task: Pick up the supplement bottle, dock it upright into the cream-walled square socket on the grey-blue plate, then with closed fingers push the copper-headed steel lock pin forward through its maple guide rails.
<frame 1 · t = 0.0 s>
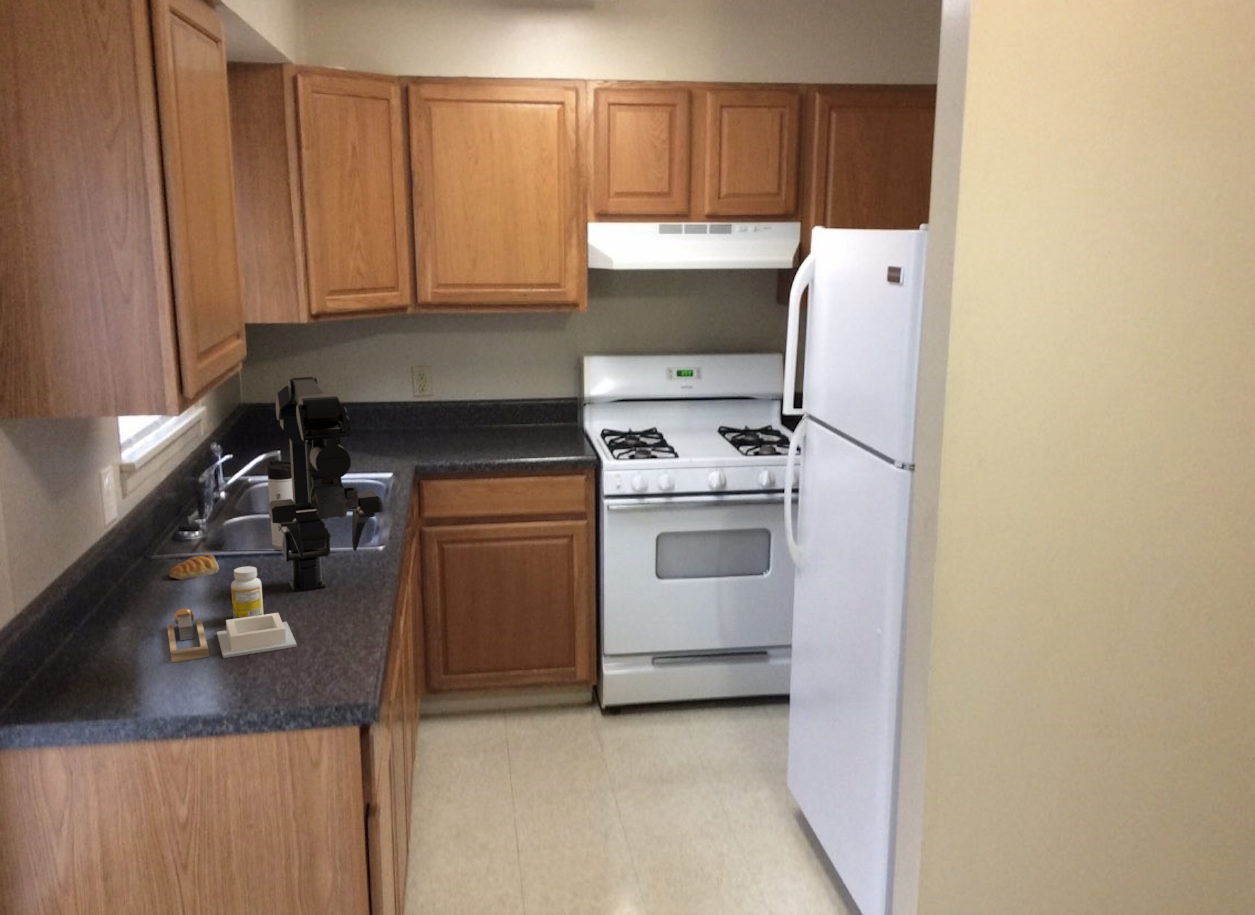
hand: (328, 553, 183), 15 cm above the counter, fingers open, 9 cm apart
travel mug: (286, 548, 237), on the counter
pastry: (197, 575, 218), on the counter
supplement bottle: (248, 619, 192), on the counter
socket: (256, 640, 181), on the counter
mount: (185, 633, 185), on the counter
lock pin: (185, 623, 185), point 2 cm above the counter, slide at 0.0 cm
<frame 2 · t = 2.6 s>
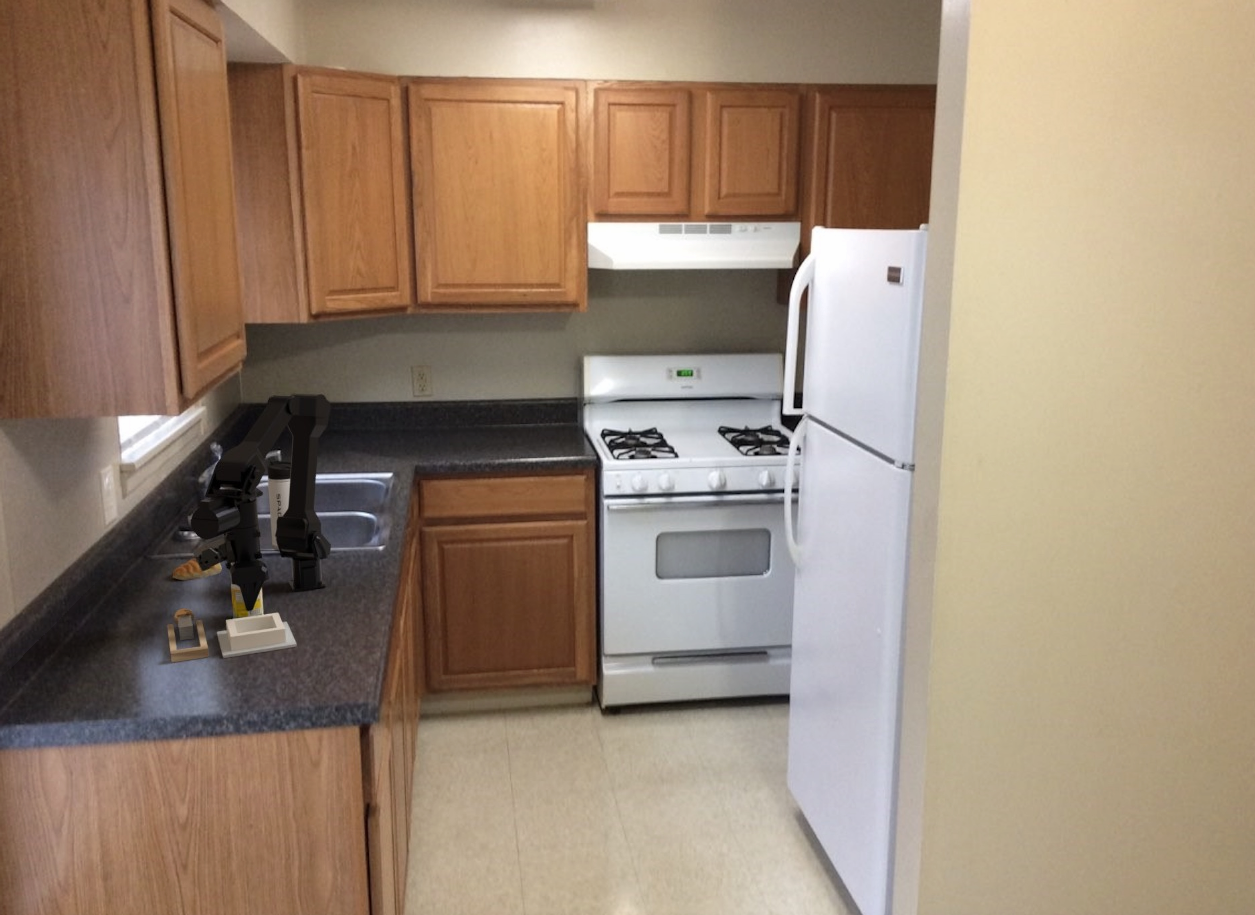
hand: (247, 605, 191), 3 cm above the counter, fingers closed on supplement bottle, 5 cm apart
supplement bottle: (248, 619, 192), on the counter, touching gripper
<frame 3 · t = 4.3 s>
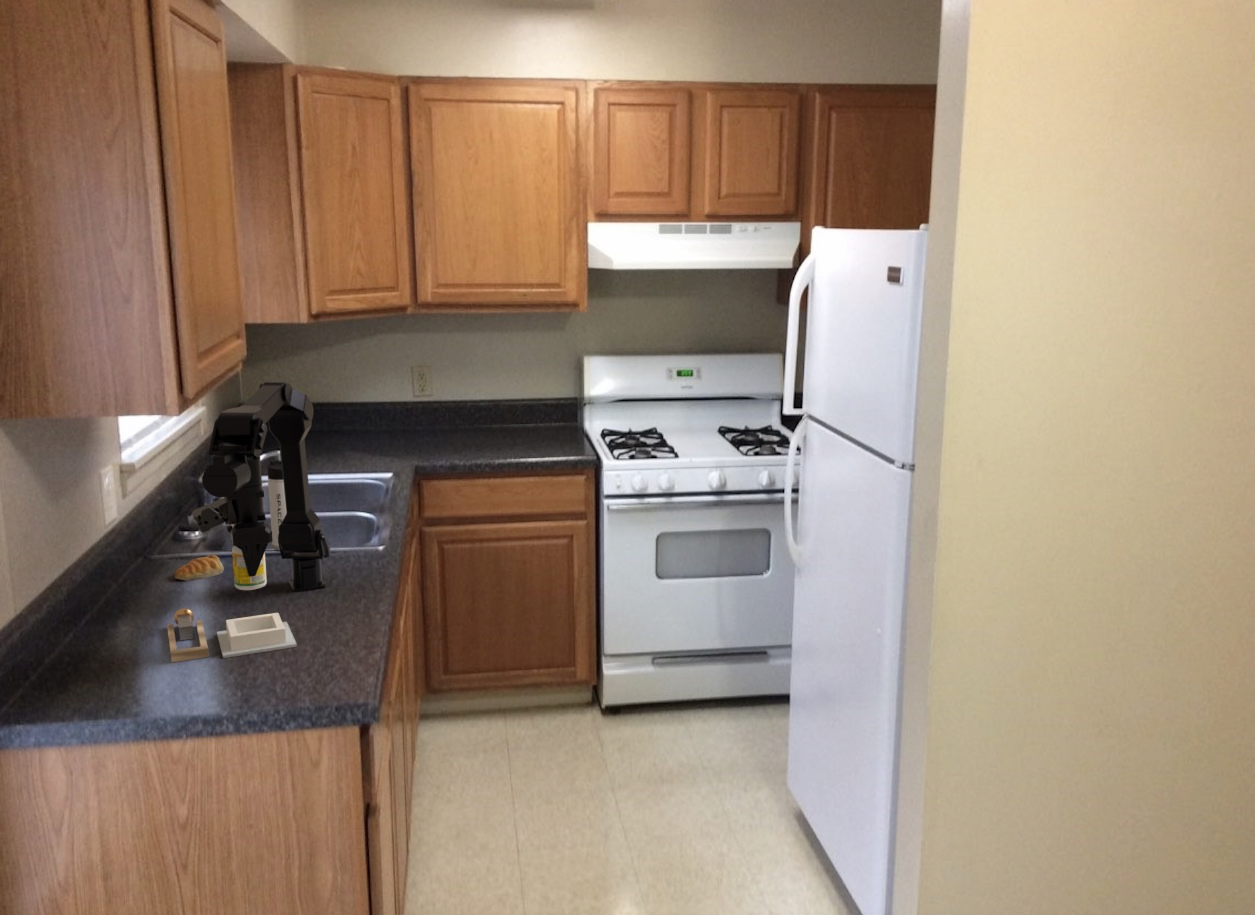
hand: (250, 571, 179), 13 cm above the counter, fingers closed on supplement bottle, 5 cm apart
supplement bottle: (250, 586, 179), point 10 cm above the counter, touching gripper
when the fingers open (4 cm above the counter, at t = 6.3 s): supplement bottle stays where it is, resting on socket.
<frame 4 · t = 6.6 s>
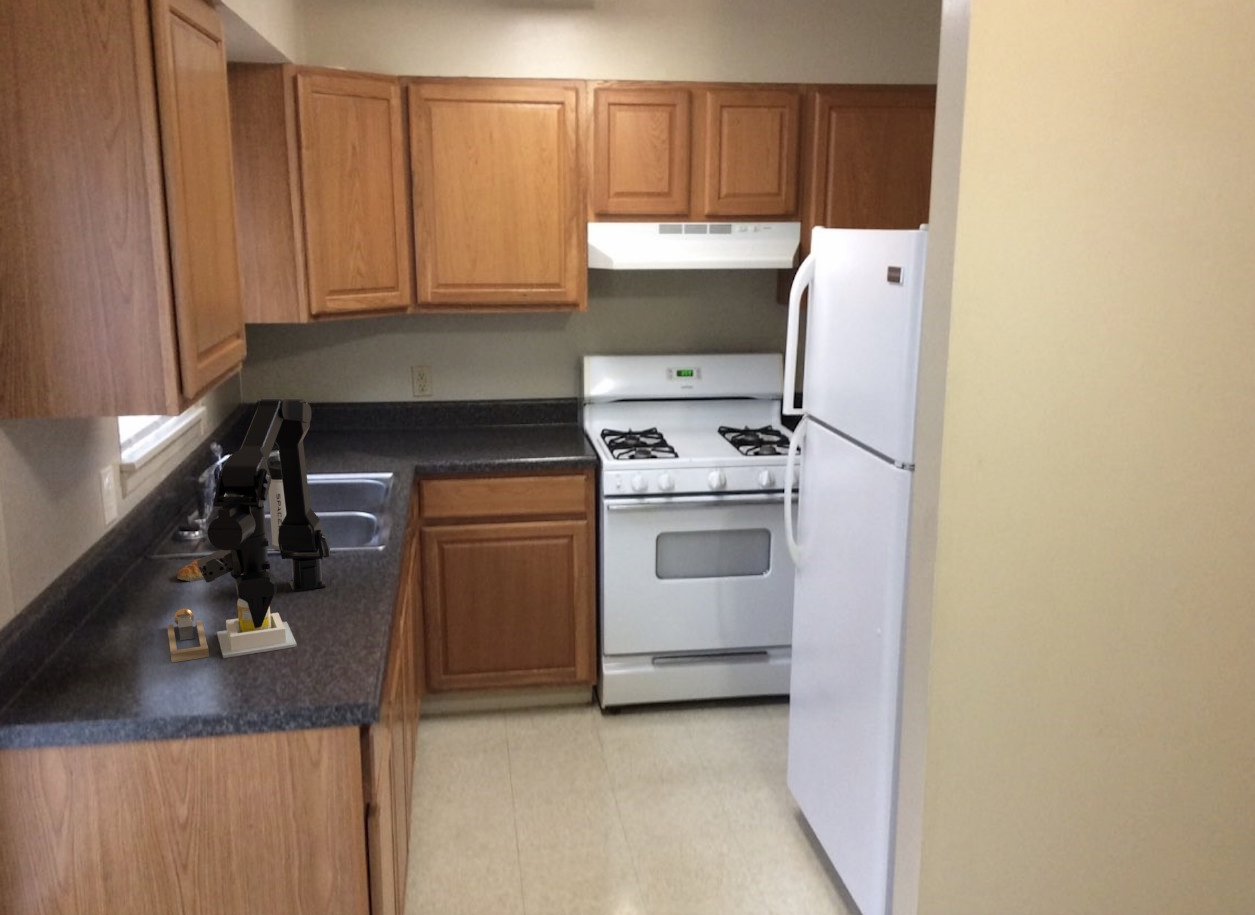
hand: (254, 618, 181), 4 cm above the counter, fingers open, 9 cm apart
supplement bottle: (256, 638, 181), resting on socket
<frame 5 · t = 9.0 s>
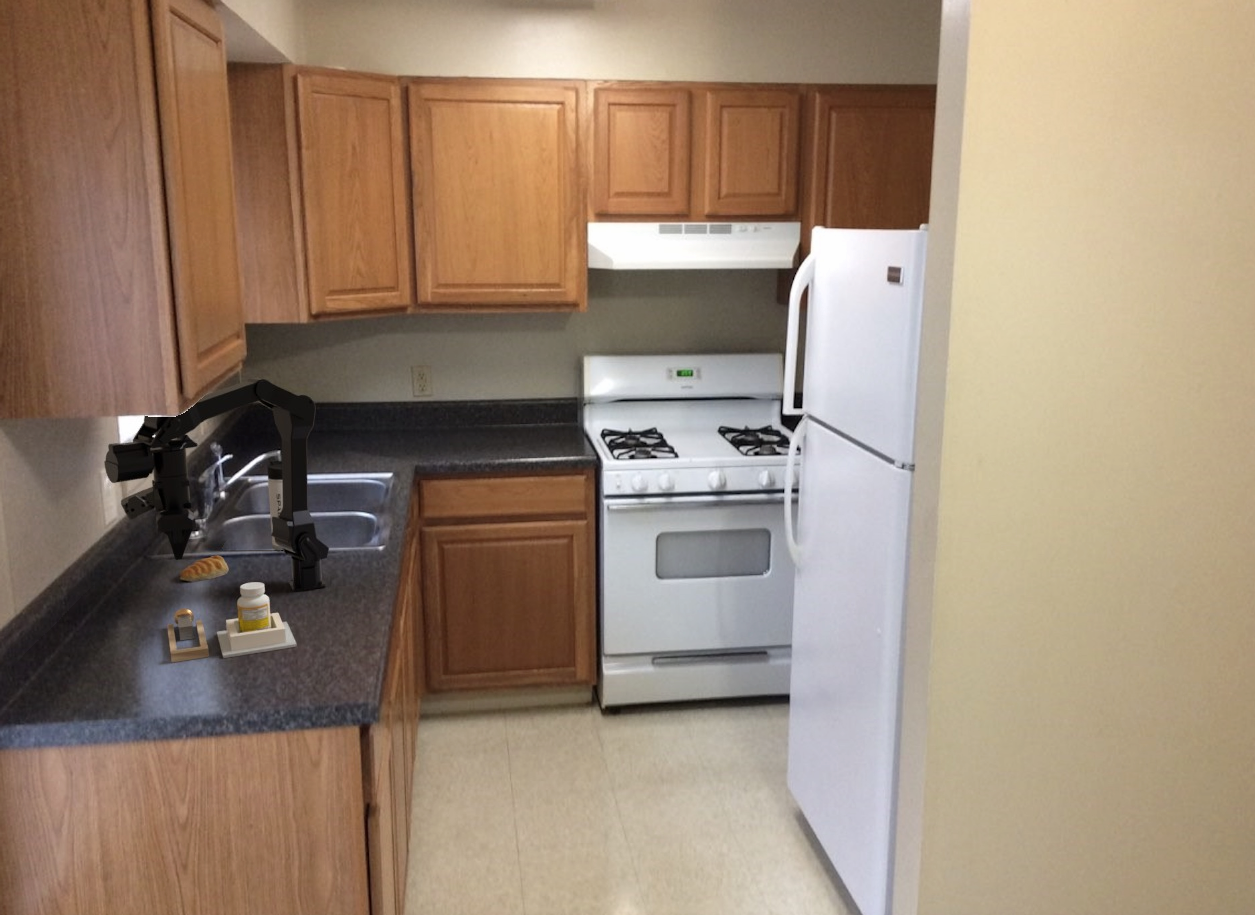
hand: (177, 556, 190), 12 cm above the counter, fingers open, 4 cm apart
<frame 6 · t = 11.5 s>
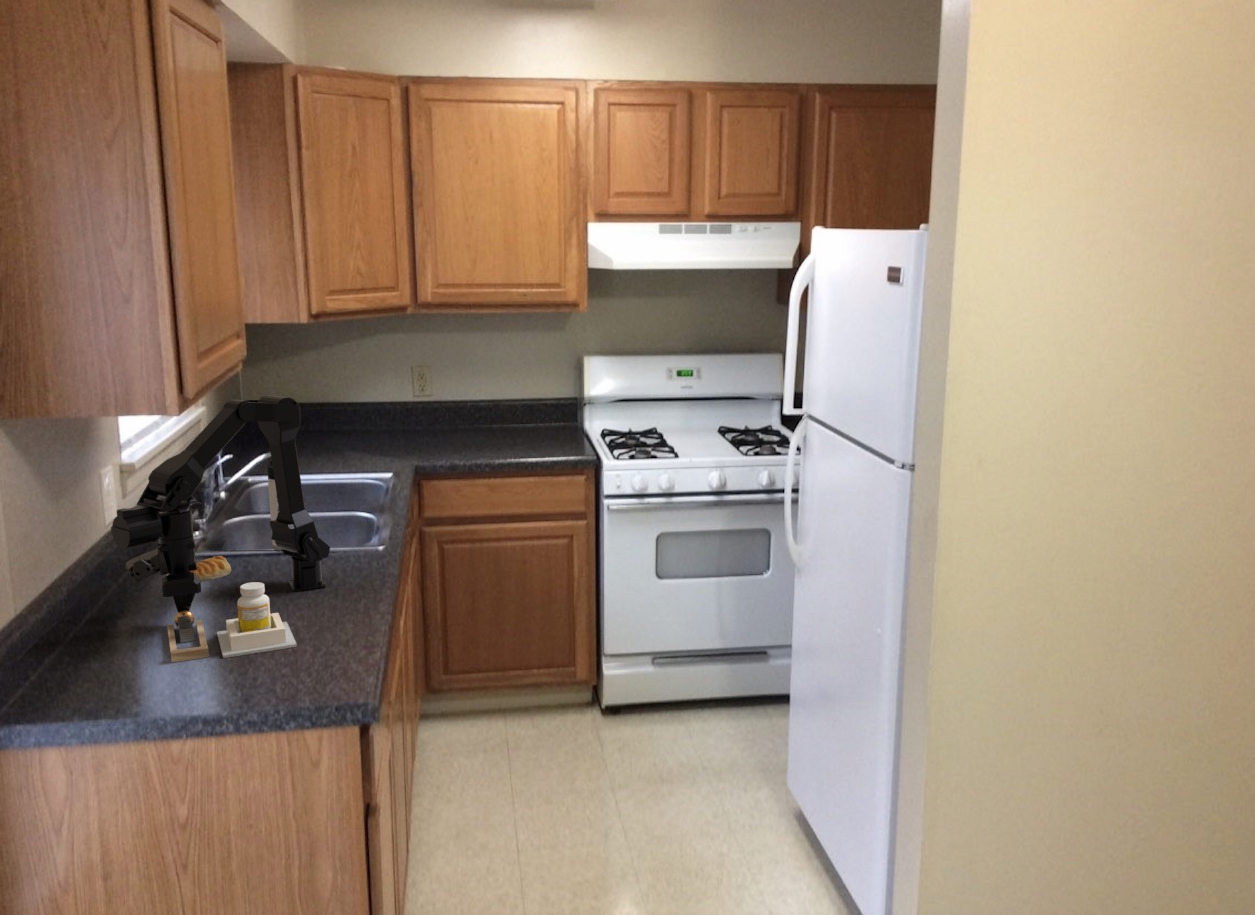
hand: (183, 618, 188), 1 cm above the counter, fingers closed
lock pin: (185, 625, 184), point 2 cm above the counter, slide at 1.2 cm, touching gripper
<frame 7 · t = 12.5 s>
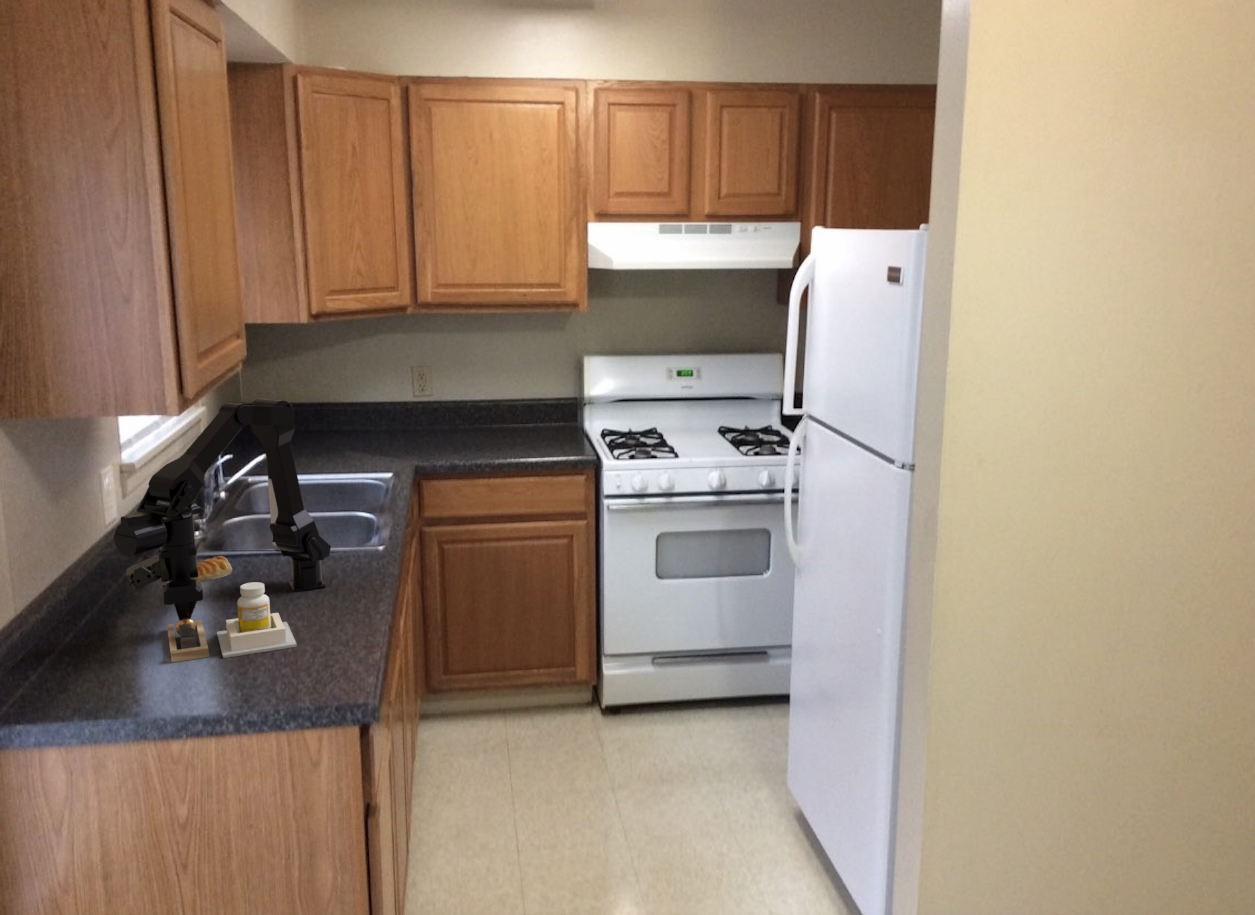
hand: (184, 625, 184), 1 cm above the counter, fingers closed
lock pin: (186, 633, 180), point 2 cm above the counter, slide at 5.5 cm, touching gripper
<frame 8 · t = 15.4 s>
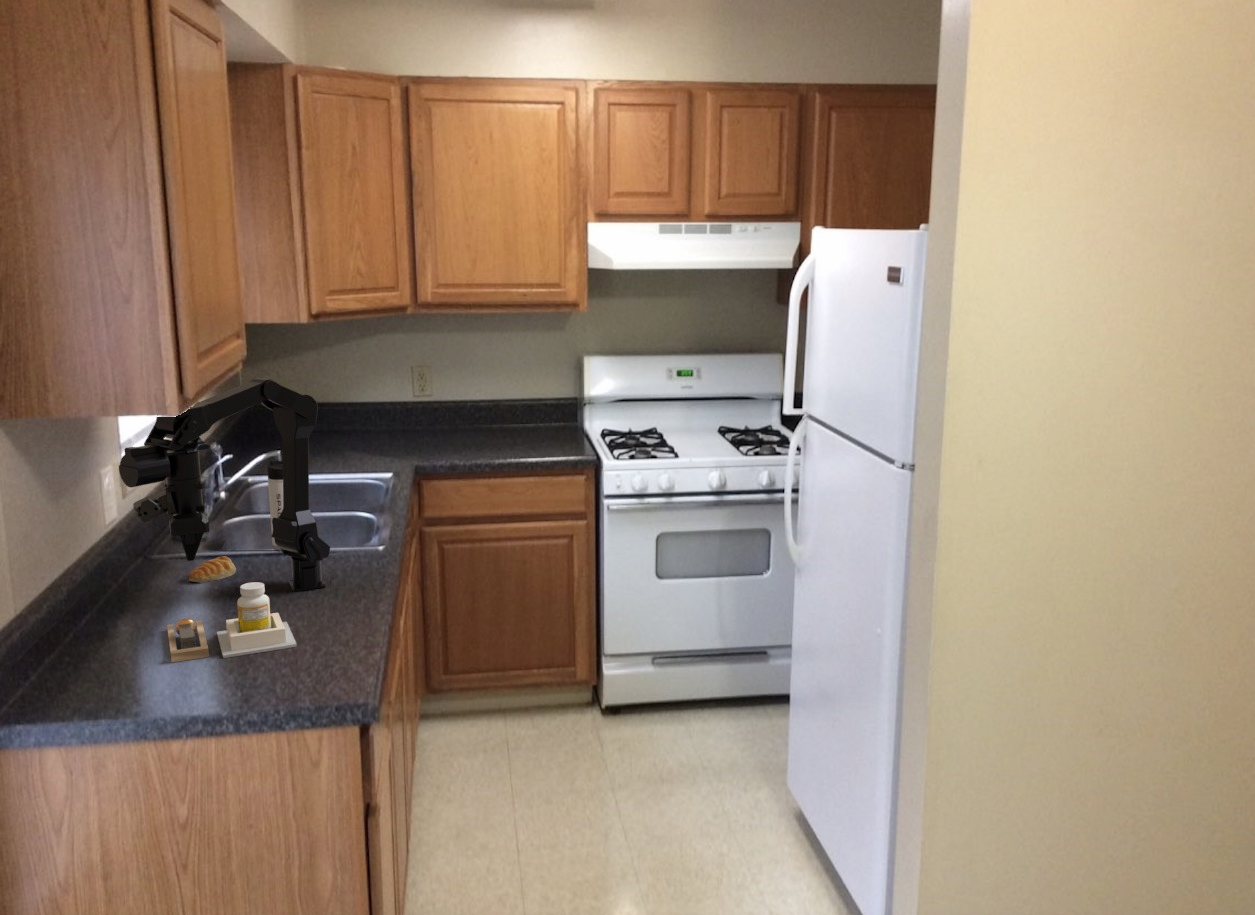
hand: (190, 560, 187), 12 cm above the counter, fingers closed
lock pin: (186, 634, 180), point 2 cm above the counter, slide at 5.6 cm
at the end: supplement bottle 0.1 cm off-centre on the socket, point 0.3 cm above the socket's base; supplement bottle tilted 0°; lock pin slide at 5.6 cm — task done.
